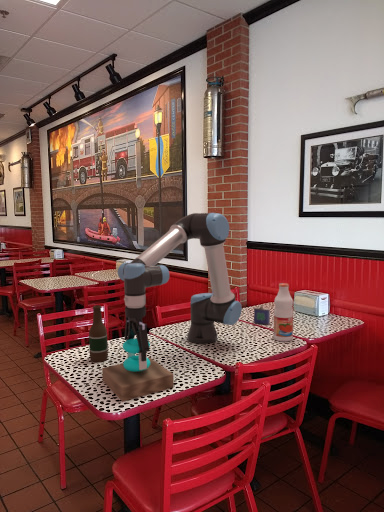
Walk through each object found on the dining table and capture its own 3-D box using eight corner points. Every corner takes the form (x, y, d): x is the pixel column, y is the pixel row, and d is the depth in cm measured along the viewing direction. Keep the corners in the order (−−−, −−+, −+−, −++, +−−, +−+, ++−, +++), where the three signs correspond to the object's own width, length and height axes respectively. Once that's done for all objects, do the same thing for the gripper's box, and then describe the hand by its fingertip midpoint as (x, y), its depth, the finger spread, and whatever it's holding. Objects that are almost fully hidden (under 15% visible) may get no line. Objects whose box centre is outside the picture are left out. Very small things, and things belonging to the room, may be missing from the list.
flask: (270, 324, 223) (270, 305, 222) (268, 325, 220) (268, 307, 219) (254, 322, 228) (254, 304, 226) (252, 323, 225) (253, 305, 224)
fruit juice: (284, 334, 204) (285, 281, 201) (296, 340, 195) (297, 284, 192) (269, 337, 200) (270, 283, 196) (281, 343, 191) (282, 286, 188)
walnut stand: (149, 369, 161) (149, 357, 160) (173, 387, 144) (173, 374, 143) (102, 380, 150) (102, 367, 150) (122, 401, 134) (121, 387, 133)
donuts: (152, 337, 150) (145, 346, 140) (153, 362, 151) (146, 373, 141) (127, 336, 151) (118, 345, 141) (128, 361, 152) (119, 372, 142)
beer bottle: (88, 357, 174) (86, 304, 172) (106, 355, 177) (104, 303, 174) (90, 363, 167) (88, 308, 164) (109, 361, 170) (107, 306, 167)
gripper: (114, 301, 151) (116, 356, 154) (138, 313, 132) (140, 377, 135) (132, 298, 155) (134, 353, 158) (158, 310, 136) (159, 372, 139)
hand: (136, 364), depth 146 cm, fingers closed on donuts, 10 cm apart
